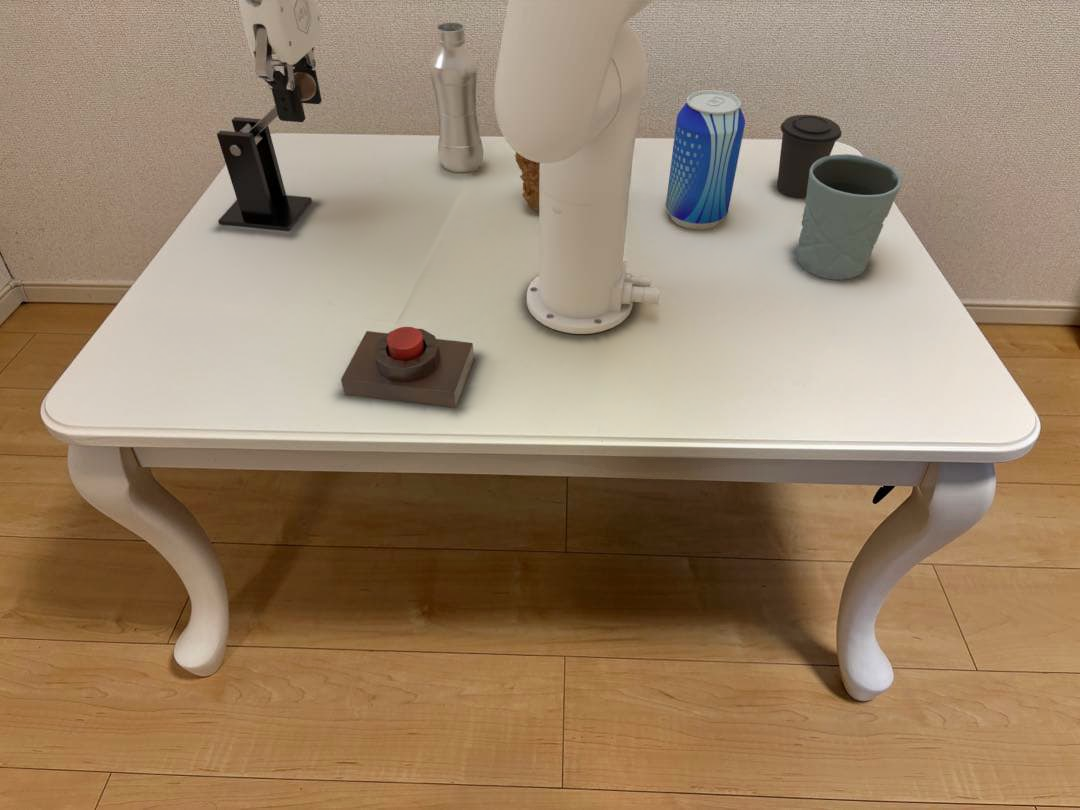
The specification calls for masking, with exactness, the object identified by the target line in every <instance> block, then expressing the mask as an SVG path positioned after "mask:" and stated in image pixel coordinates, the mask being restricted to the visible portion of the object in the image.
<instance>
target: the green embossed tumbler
mask: <svg viewBox="0 0 1080 810" xmlns="http://www.w3.org/2000/svg"><path fill="white" fill-rule="evenodd" d="M902 183H903V180H902V177H901V175H900V173H899V171H898V170H896V169H895V168H894V167H892V166H891V165H890V164H888V163H886V162H884V161H882V160H879V159H876V158H874V157H873V158H872V157H867V156H863V155H858V154H851V153H849V154H848V153H844V154H843V153H842V154H832V155H831V154H830V156H826V157H823V158H821V159H819V160H817V161H816V162H814V163H813V165H812V166H811V168H810V171H809V179H808V186H807V195H806V198H804V202H805V206H804V209H803V214H802V219H801V226H802V228H801V229H800V230H801V231H800V233H799V237H798V238H799V239H798V244H797V249H796V260H797V263H798V265H799V266H800V267H801V268H802V269H804V270H805V271H807V272H808V273H809V274H811V275H814V276H816V277H820V278H823V279H826V280H833V281H844V280H850V279H853V278H856V277H858V276H859V275H861V274H863V272H864V271H865V270H866V267H867V265H868V263H869V261H870V258H871V256H872V252H873V250H874V248H875V245H876V244H877V241H878V240H879V237H880V234H881V232H882V230H883V228H884V222H885V220H886V218H888V215H889V213H890V211H891V208H892V206H893V204H894V201H895V200H896V198H897V196H898V193H899V192H900V189H901V186H902Z"/></svg>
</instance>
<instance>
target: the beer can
mask: <svg viewBox="0 0 1080 810" xmlns="http://www.w3.org/2000/svg"><path fill="white" fill-rule="evenodd" d="M741 106H742V101H741V99H740V98H739V97H738V96H736V95H735V94H733V93H730V92H727V91H724V90H717V89H703V90H698V91H694V92H692V93H690V94H689V95H688V96H687V98H686V102H685V103H684V105H683V106H682V107H681V109H680V110H679V111H678V114H677V115H676V121H675V122H676V123H675V128H674V129H675V130H674V137H673V145H672V154H671V159H670V161H671V162H670V168H669V176H668V185H667V194H666V201H665V209H666V211H667V213H668V214H669V216H670V218H671V220H672V221H673V222H674V223H675V224H676V225H678V226H681V227H683V228H686V229H688V230H689V229H691V230H707V229H708V230H709V229H712V228H714V227H716V226H717V225H719V224H720V222H722V220H724V219H725V218H726V217H727V215H728V213H729V210H730V203H731V200H732V199H731V198H732V194H733V189H734V188H733V187H734V182H735V178H736V172H737V168H738V162H739V156H740V152H741V147H742V142H743V137H744V136H743V135H744V131H745V125H746V119H745V116H744V113H743V111H742V108H741Z"/></svg>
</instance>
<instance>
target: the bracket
mask: <svg viewBox="0 0 1080 810" xmlns="http://www.w3.org/2000/svg"><path fill="white" fill-rule="evenodd" d="M261 119H262V118H252V117H242V116H241V117H239V116H234V117H233V118H232V119H231V124H232V127H233V131H232V130H231V131H228V130H219V131H218V132H217V133H216V137H217V140H218V143H219V146H220V150H221V153H222V156H223V159H224V162H225V165H226V168H227V172H228V176H229V178H230V181H231V185H232V189H233V191H234V195H235V198H236V200H235V201H234V203H233V204H232V205H231V206H229V208H228V209H227V210H226V211H225V212H224V213H223V214H222V215H221V217H220V218H219V219H218V220H217V222H218V225H220V226H221V225H222V226H229V227H238V228H239V227H240V228H251V229H262V230H271V231H283V232H290V231H292V229H293V227H294V226H295V224H296V223H297V221H298V220H299V219H300V218H301V217H302V215H303V214H304V213H305V211H306V210H307V209H308V207H309V206H310V205H311V203H312V202H313V199H312V197H311V196H299V195H289V194H287V192H286V189H285V185H284V180H283V176H282V173H281V170H280V166H279V161H278V158H277V154H276V150H275V147H274V143H273V139H272V135H271V130H270V127H269V125H268V126H267V127H266V128H265V129H264V130H263V131H262V132H260V133H259V134H260V135H261V137H262V138H263V139H262V140H261V141H260V142H259V143H258V144H257V145H256V143H255V139H254V135H253V133H243V132H239V131H240V130H242V129H243V128H244V127H245V126H246V125H247V124H248V123H249V124H250V125H251V126H252V127H254V126H255V125H256V124H257V123H258V122H259V121H260V120H261Z"/></svg>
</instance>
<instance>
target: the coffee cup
mask: <svg viewBox="0 0 1080 810" xmlns="http://www.w3.org/2000/svg"><path fill="white" fill-rule="evenodd" d="M780 131H781V133H782V136H781V137H782V138H781V146H780V155H779V163H778V164H779V165H778V173H777V181H776V183H777V184H776V189H777V191H778V192H779V193H780V194H781V195H783V196H786V197H789V198H793V199H806V195H807V186H808V179H809V171H810V168H811V166H812V165H813V163H814V162H816V161H817V160H819V159H821V158H823V157H826V156H831V153H832V151H833V149H834V146H835V144H836V141H838V140H839V139H840V138H841V137H842V130H841V127H840V126H839V124H838V123H836V121H833V120H832V119H829V118H827V117H825V116H820V115H814V114H797V115H792V116H789V117H787V118H785V120H784V121H782V122H781V124H780Z"/></svg>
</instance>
